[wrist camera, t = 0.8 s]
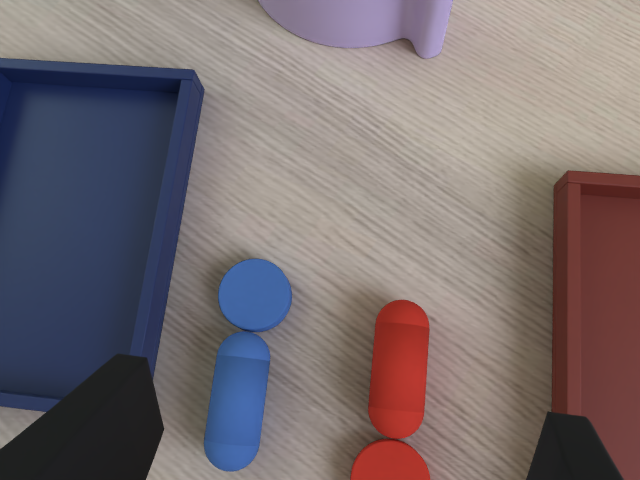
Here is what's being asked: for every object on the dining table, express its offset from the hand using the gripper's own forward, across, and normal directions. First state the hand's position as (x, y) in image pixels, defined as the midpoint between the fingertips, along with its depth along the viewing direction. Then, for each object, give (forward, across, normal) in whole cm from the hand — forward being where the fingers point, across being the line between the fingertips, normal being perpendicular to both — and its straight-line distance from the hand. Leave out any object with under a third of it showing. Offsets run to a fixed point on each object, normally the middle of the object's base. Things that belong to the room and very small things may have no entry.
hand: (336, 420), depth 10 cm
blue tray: (+15, +16, +7) cm, 23 cm away
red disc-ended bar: (+11, -1, +12) cm, 16 cm away
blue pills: (+12, +6, +11) cm, 17 cm away
